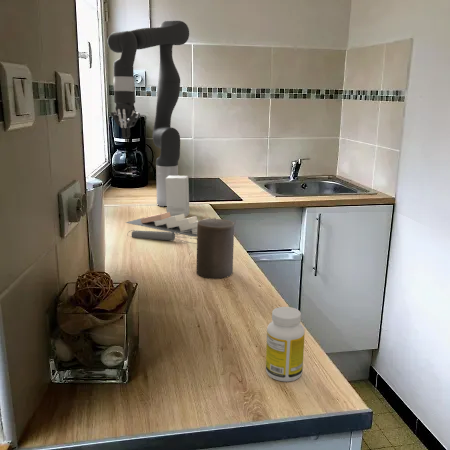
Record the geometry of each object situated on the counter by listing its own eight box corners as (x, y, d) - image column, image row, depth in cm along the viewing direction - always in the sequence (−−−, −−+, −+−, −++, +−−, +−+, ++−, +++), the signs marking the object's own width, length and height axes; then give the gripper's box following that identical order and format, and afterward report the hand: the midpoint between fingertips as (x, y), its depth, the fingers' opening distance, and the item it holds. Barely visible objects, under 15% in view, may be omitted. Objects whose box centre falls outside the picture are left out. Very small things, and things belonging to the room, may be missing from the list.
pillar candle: (200, 280, 123) (202, 223, 119) (192, 267, 132) (193, 214, 128) (237, 277, 125) (239, 221, 122) (227, 265, 135) (229, 212, 131)
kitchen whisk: (132, 235, 164) (131, 217, 162) (226, 247, 153) (226, 228, 151) (122, 239, 158) (121, 221, 156) (219, 252, 147) (219, 232, 145)
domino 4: (188, 223, 171) (209, 217, 165) (189, 228, 171) (211, 222, 165) (179, 226, 167) (201, 220, 161) (180, 231, 167) (202, 225, 161)
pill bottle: (298, 363, 85) (302, 304, 82) (305, 382, 79) (309, 320, 76) (263, 363, 84) (265, 304, 82) (267, 383, 79) (270, 320, 76)
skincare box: (189, 214, 195) (189, 175, 191) (186, 217, 188) (186, 178, 184) (169, 213, 195) (168, 174, 192) (165, 216, 189) (165, 177, 185)
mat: (143, 218, 186) (143, 217, 186) (212, 231, 169) (212, 230, 169) (125, 223, 178) (125, 222, 178) (195, 237, 161) (195, 236, 161)
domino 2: (163, 218, 177) (183, 213, 171) (164, 223, 177) (185, 218, 171) (154, 221, 173) (175, 216, 167) (155, 226, 173) (176, 221, 167)
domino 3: (175, 220, 174) (196, 215, 168) (176, 225, 174) (197, 220, 168) (166, 223, 170) (187, 218, 164) (167, 228, 170) (189, 223, 164)
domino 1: (149, 216, 181) (169, 212, 175) (150, 220, 181) (170, 216, 175) (140, 218, 176) (160, 214, 171) (141, 223, 177) (161, 219, 171)
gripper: (103, 89, 177) (106, 137, 181) (130, 89, 170) (132, 139, 174) (118, 90, 183) (120, 136, 187) (145, 90, 176) (146, 138, 180)
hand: (126, 138), depth 181 cm, fingers closed
